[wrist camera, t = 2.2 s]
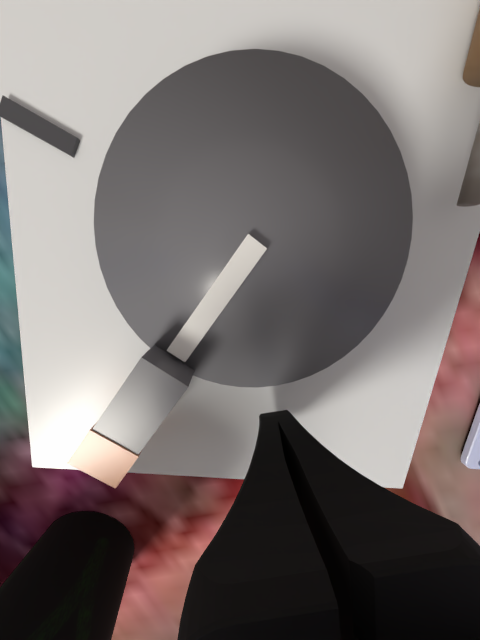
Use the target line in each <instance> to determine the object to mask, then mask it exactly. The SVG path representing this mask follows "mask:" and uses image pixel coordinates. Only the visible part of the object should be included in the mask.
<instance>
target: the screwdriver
mask: <svg viewBox="0 0 480 640" xmlns="http://www.w3.org/2000/svg"><path fill="white" fill-rule="evenodd" d="M463 80H464V82H465V83H466V84H467V85H470V86H474V87H480V8H479V12H478V16H477V20H476V24H475V28H474V32H473V36H472V40H471V44H470V48H469V52H468V56H467V60H466V64H465V67H464V71H463ZM479 204H480V121H479V125H478V129H477V132H476V136H475V140H474V143H473V147H472V150H471V154H470V158H469V161H468V165H467V169H466V172H465V176H464V179H463V183H462V187H461V190H460V194H459V198H458V201H457V206H461V207H468V206H476V205H479Z"/></svg>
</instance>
